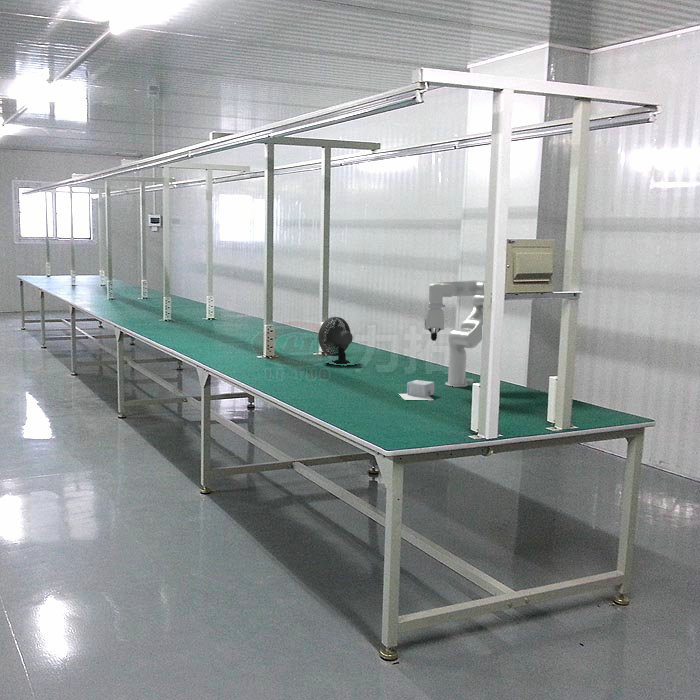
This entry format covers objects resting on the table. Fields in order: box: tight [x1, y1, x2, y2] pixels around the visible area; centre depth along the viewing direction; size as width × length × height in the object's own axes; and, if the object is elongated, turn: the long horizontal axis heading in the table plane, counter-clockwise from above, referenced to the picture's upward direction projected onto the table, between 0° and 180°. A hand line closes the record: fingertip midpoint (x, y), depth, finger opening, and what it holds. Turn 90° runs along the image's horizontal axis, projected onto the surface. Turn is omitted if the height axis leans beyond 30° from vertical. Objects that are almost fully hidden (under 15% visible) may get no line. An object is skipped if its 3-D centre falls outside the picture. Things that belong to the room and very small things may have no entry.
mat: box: [398, 393, 434, 401], centre depth 393 cm, size 15×16×1 cm
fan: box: [317, 316, 354, 364], centre depth 495 cm, size 26×26×30 cm
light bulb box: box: [406, 379, 435, 397], centre depth 399 cm, size 11×7×11 cm
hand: (433, 340), depth 413 cm, fingers closed
